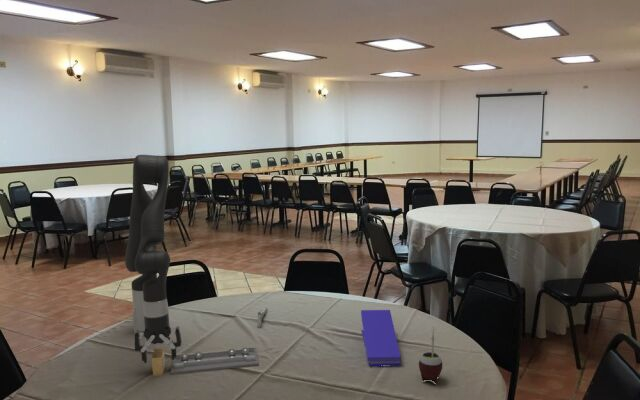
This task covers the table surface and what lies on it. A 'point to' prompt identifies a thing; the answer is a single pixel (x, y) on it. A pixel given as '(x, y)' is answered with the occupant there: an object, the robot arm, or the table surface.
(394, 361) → the stapler
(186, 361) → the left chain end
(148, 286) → the robot arm
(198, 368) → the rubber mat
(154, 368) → the tall wooden block
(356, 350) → the table surface
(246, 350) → the grey studded track end
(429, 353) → the mate gourd
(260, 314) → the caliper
